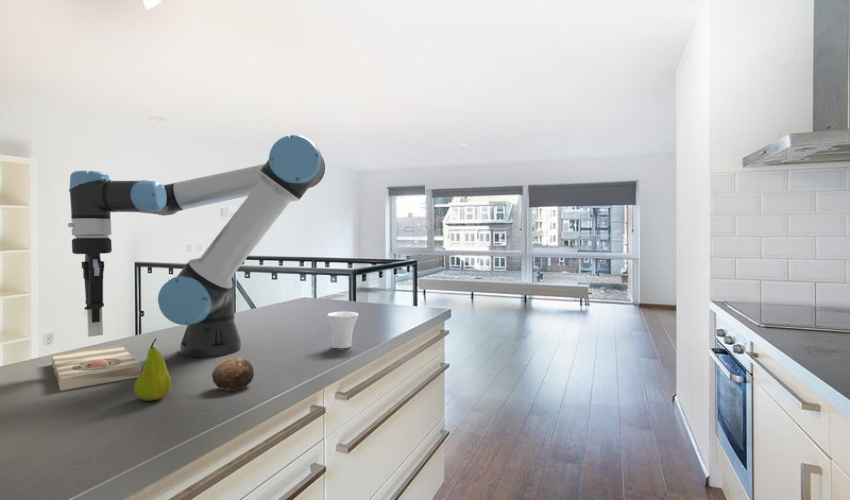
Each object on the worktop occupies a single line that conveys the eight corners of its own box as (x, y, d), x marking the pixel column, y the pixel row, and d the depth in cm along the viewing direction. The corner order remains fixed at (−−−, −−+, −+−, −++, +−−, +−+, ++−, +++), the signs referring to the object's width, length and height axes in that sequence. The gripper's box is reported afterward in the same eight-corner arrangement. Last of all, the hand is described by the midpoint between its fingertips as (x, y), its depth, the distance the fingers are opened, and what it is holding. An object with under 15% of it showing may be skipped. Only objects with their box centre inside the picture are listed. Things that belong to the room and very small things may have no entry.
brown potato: (223, 364, 97) (227, 346, 94) (257, 377, 98) (262, 359, 95) (202, 392, 91) (206, 373, 87) (239, 406, 91) (244, 387, 88)
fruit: (146, 393, 88) (146, 334, 88) (178, 393, 88) (178, 334, 88) (126, 405, 82) (126, 341, 81) (160, 405, 82) (160, 342, 82)
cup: (320, 349, 124) (320, 314, 124) (338, 342, 133) (338, 309, 132) (346, 353, 121) (347, 317, 120) (363, 345, 129) (364, 311, 129)
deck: (52, 364, 106) (52, 354, 106) (121, 354, 116) (121, 345, 116) (60, 390, 89) (60, 378, 89) (141, 376, 98) (141, 365, 98)
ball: (110, 376, 100) (114, 361, 101) (99, 371, 97) (104, 355, 99) (94, 377, 100) (100, 363, 102) (84, 372, 97) (89, 357, 99)
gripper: (68, 237, 106) (72, 333, 107) (74, 237, 97) (78, 342, 98) (106, 237, 111) (110, 328, 112) (115, 236, 102) (119, 337, 103)
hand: (95, 335), depth 105 cm, fingers closed
